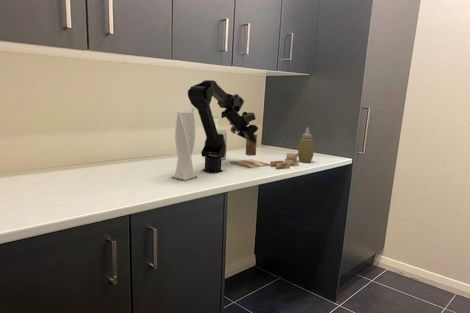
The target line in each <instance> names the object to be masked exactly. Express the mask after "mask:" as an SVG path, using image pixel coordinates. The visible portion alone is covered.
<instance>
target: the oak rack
mask: <svg viewBox="0 0 470 313" xmlns="http://www.w3.org/2000/svg"><path fill="white" fill-rule="evenodd" d="M269 162H270V163H269V164H270V165H269V167H270V168H271V167H272V168H275V170H283V169H284V170H285V169H290V168H291V166H290V163H284V162H285V160H270V161H269Z"/></svg>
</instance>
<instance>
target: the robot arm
mask: <svg viewBox="0 0 470 313" xmlns="http://www.w3.org/2000/svg"><path fill="white" fill-rule="evenodd" d="M187 97H188V100H189V101H190V103H191V105H192V106H194V109H197V111H198V115H199V118H200V121H201V125H202V128H203V130H204V135H205V137H206V138H205V141H204V145H203V148H202V150H201V152H200V154H201V157H204V168H202V169H201V170H202V171H204V172H206V173H210V174H215V173H222V172H223V169H222V160H221V158H223V157H224V155H225V150H226V151H227V147H226V144H225V140H224V136H223V135H222V134H218V133H217V129H218V128H217V126H216V123H215V119H214V117H213V112H212V109H211V105H210V104H211V102H212V99H213V98H214V99H215V100H216V101H217V105H218V106H219V108H220V109H224V110H223V111H221V114H220V115H221V116H220V117H221V119H223V118H226V120H227V121H228V122H229V125H230V126H231V127H230V131H231V133H232V134H236V135H237V136H239V137H241V138H243V139H245V140H246V138H247V139H249V140H251V141H252V142H254V143H255V142H256V139H255V136H254V134H256V132H257V131H258V130H259V127H258V126H257V125H255V124H250V122H252V121H255V120H256V119H257V118H256V115H255V113H254V112H247V111H243V112H242V114H241V115H240V113H239V112H240V111H241V109H242V107H243V106H244V104H245V100H244V99H243V98H242V96H240V95H239V94H234V95H233V94H231V93H227V92H226V91H225V90H224V89H222V87H221V86H220V85H219V84H217V81H215V80H212V79H211V80H210V79H207V80H203V81H201V82H199V83H197V84H194V85H191V87H190V88H189V89H188V91H187ZM212 97H213V98H212ZM210 152H211V153H210Z"/></svg>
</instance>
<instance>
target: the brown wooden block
mask: <svg viewBox="0 0 470 313" xmlns="http://www.w3.org/2000/svg"><path fill="white" fill-rule="evenodd" d="M254 136H255V139H256V142H255V143H254V142H252V141H251V140H249V139H247V138H246V139H245V141H246V142H245V155H246V156H247V157H249V156H256V155H257V142H258V140H257V138H258V135H257V134H256V133H254Z"/></svg>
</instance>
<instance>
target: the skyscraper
mask: <svg viewBox="0 0 470 313" xmlns="http://www.w3.org/2000/svg"><path fill="white" fill-rule="evenodd" d="M194 109H195V107H194V106H193V105H192V106H191V111H190V109H181V111H180V109H178V110H177V114H176V121H175V129H174V130H175V131H174V140H175V141H174V142H175V149H176V155H177V162H176V167H175V172H174V173H175V174H174V176H171V179H175V180H177V181H183V182H186V181H190V180H194V179H198V176H196V175H195V174H194V167H193V160H192V159H193V158H192V154H193V152H194V147H195V140H196V123H195V122H196V120H195V113H194V111H195V110H194Z"/></svg>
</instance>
